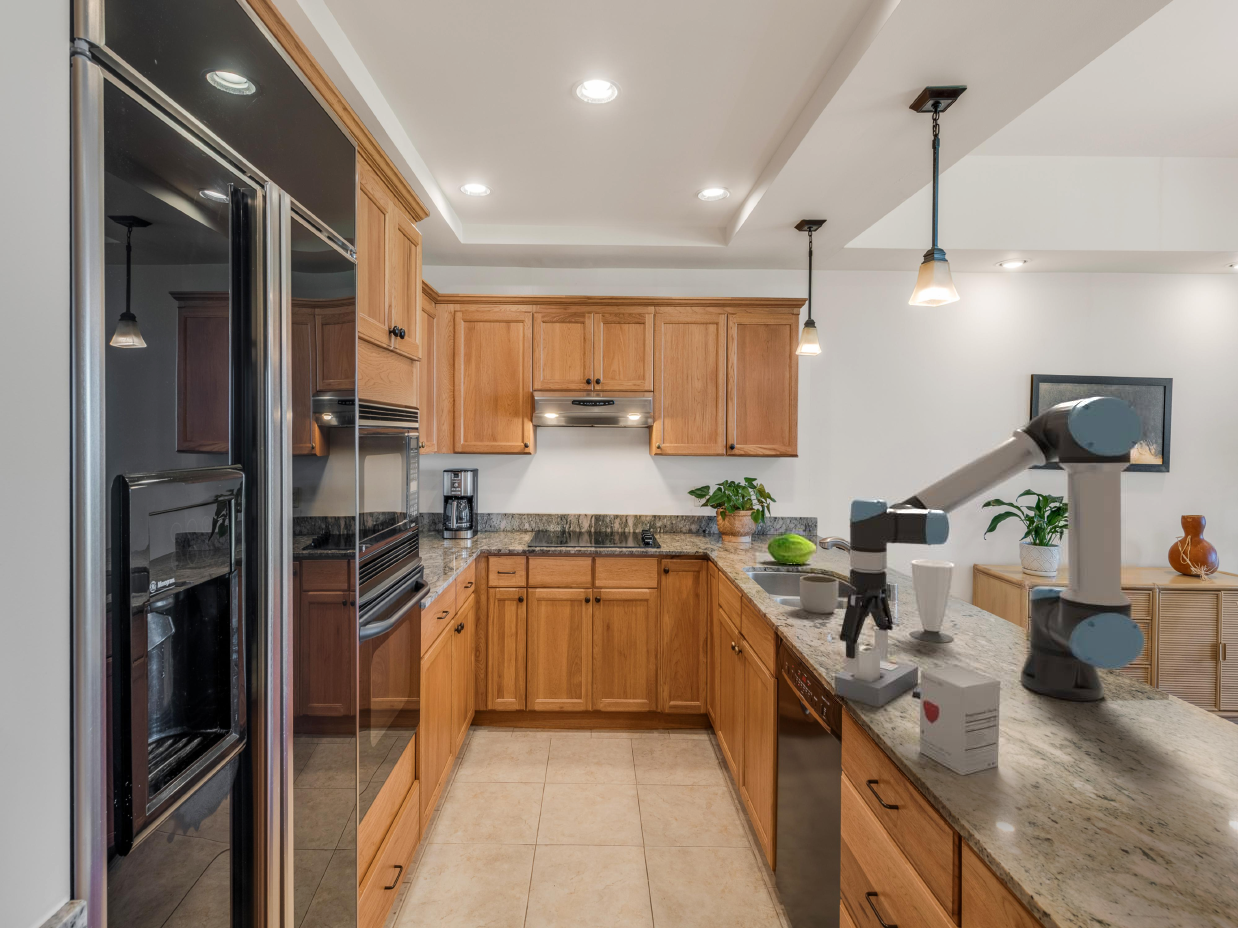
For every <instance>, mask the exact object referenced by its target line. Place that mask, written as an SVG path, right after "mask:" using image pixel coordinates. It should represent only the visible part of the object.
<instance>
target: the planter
mask: <svg viewBox="0 0 1238 928" xmlns="http://www.w3.org/2000/svg"><path fill="white" fill-rule="evenodd" d="M799 601H800V604H801V607H802V609H804V611H806V612H807V613H808V612H809V613H811V614H819V615H826V614H828V615H829V614H831V613H833V612H834V611H835V610H836V609H837V606H838V602H839V579H837V578H836V577H831V576H826V575H813V574H812V575H803V576H800V577H799Z"/></svg>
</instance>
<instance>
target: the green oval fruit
mask: <svg viewBox="0 0 1238 928" xmlns="http://www.w3.org/2000/svg"><path fill="white" fill-rule="evenodd" d="M766 549H767V551H768V554H769V555H770V556H771V557H772V558H773V559H774V561H776V562H779V563H780V564H782V563H792V564H794V563H795V564H801V565H804V564H805V563H806V562H808V561H809V560H810V558H811V557H812V556H813V555H814V553H816V552H817V546H816V545H815V544H814V543H813V542H811V541H809V540H808V539H807V538H804V537H803V536H800V535H797V534H793V533H791V534H788V533H787V534H784V535H782V536H777V537H774V538H772V539H771V540H770V541H769V543H768V545H767V547H766ZM803 563H804V564H803Z"/></svg>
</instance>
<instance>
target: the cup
mask: <svg viewBox="0 0 1238 928" xmlns="http://www.w3.org/2000/svg"><path fill="white" fill-rule="evenodd" d="M910 565H911V573H912V583H913V590H914V595H915V602H916V606H917V611H918V615H919V620H920V623H921V626H922V630H913V631H912V630H911V632H909V635H910V637H911V638H914V639H916V640H920V641H923V642H928V643H936V644H945V643H946V644H947V643H951V642H953V641H955V639H954V637H953V636H952V635H949V634H947V633H944V632H941V628H942V626H943V623H944V619H945V617H946V612H947V608H948V603H949V600H950V599H949V598H950V594H951V588H952V581H953V574H954V573H953V572H954V568H955V564H954V563H952V562H949V561H944V560H936V559H914V560H911V561H910Z"/></svg>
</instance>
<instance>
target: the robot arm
mask: <svg viewBox="0 0 1238 928" xmlns="http://www.w3.org/2000/svg"><path fill="white" fill-rule="evenodd" d="M1143 433H1144V423H1143V419H1142V416H1141V415H1140V413H1139V412H1138V410H1136V408H1135V407H1134V406H1132V404H1129V403H1128V402H1127V401H1126V400H1123V399H1120V398H1117V397H1113V396H1092V397H1085V398H1082V399H1081V398H1080V399H1077V400H1072V401H1071V400H1070V401H1065V402H1061V403H1059V404H1056V405H1054V406H1053V407H1050V408H1049V409H1047V410H1045V411H1044V412H1042V413H1041V414H1038V416H1036V417H1035V418H1033V419H1031V420H1030V421H1028V422H1027V423H1025V424H1023V425H1022V426H1020V427H1019V428H1017V429H1015V430H1014V431H1013V432H1012V437H1010V438H1009V439H1008V440H1006V441H1004V442H1002V443H1001V444H999V445H997V446H996V447H994V448H992V449H990V450H988V451H987V452H984V453H983V454H982V455H979V456H978V457H976V458H975V459H973V460H972V461H970V462H968V463H967V464H964V465H963V466H962V467H960V468H958V469H956V470H955V471H953V472H951V473H949V474H947V475H946V476H944V477H943V478H941V479H939V480H937V481H936V482H934V483H933V484H931V485H928V486H927V487H926V488H924V489H922V490H921V491H919V492H917V493H915V494H914V495H912V496H911V497H908V498H906V499H905V500H903V501H901V502H896V503H893V504H891V505H889V506H888V502H887V501H886V500H884V499H878V498H876V499H875V498H873V499H872V498H859V499H858V498H857V499H854V500H853V501H852V502H851V506H850V517H849V546H850V547H849V550H850V551H849V553H848V556H849V566H850V568H851V569H850V570H849V585H850V587H852V588H855V594H848V595H847V604H846V609H845V612H844V613H845V614H844V617H843V621H842V625H841V631H840V635H839V640H840V641H841V642H845V667H844V668H845V670H844V671H847V672H851V673H854V674H859V647H860V643H859V642H858V641H859V637H860V635H861V633H862V629H863V626H864V624H865V621H866V618H867V617H869V616H870V615H871V617H872V620H873V622H874V624H875V626H876V628H874V645H873V646H874V647H873V648H876V649H880V658H881V659H885V660H887V659H889V658H888V654H889V653H888V650H889V649H888V646H889V641H888V640H889V631H893V627H894V626H893V624H894V620H893V617H892V612H891V608H890V604H889V600H888V588H887V572H886V571H885V570H887V569H888V567H887V566H888V557H887V556H888V553H887V551H888V550H887V547H888V544H906V545H907V544H908V545H924V546H925V545H927V546H931V545H934V546H935V545H944V544H945V543H946V542H947V541H948V539H949V535H950V522H949V517H948V514H951V513H952V512H954V511H955V510H957V509H959V508H961V507H963V506H964V505H966V504H968V503H969V502H972V501H974V500H975V499H977V498H979V497H981V496H983V495H984V494H986V493H987V492H989V491H991V490H993V489H994V488H996V487H998V486H1000V485H1001V484H1004V483H1006V482H1007V481H1009V480H1010V479H1013V477H1015V476H1017V475H1019V474H1021V473H1022V472H1024V471H1026V470H1028V469H1030V468H1032V467H1033V466H1040V467H1042V466H1044V465H1047V464H1048V463H1050V462H1052V461H1053V460H1057V459H1058V465H1059V466H1060V467H1061V468H1062V469H1064V470H1065V471H1066V473H1067V550H1068V551H1067V553H1068V554H1067V557H1068V558H1067V559H1068V562H1067V563H1068V564H1067V565H1068V566H1067V567H1068V569H1067V570H1068V571H1067V573H1068V579H1067V580H1068V586H1053V585H1052V586H1051V585H1050V586H1049V585H1046V586H1045V585H1040V586H1039V585H1038V586H1035V587H1033V588H1032V589H1031V594H1030V599H1029V603H1030V629H1029V630H1030V634H1029V635H1030V638H1029V639H1030V641H1029V642H1030V649H1029V651H1028V653H1027V656H1026V658H1025V659H1026V660H1025V661H1024V664H1023V665H1022V668H1021V671H1020V682H1021V684H1022V685H1023V686H1024V687H1026V688H1027V689H1029V690H1032V691H1034V692H1036V693H1039V694H1042V695H1046V696H1049V697H1053V698H1057V699H1062V700H1067V701H1068V700H1070V701H1077V702H1078V701H1079V702H1091V701H1092V702H1094V701H1098V700H1101V699H1102V698H1103V697H1104V685H1103V682H1102V679H1101V677H1100V674H1099V671H1098V668H1099V669H1103V670H1117V669H1122V668H1124V667H1127V666H1130V664H1132V662H1134V661H1136V660H1138V658H1139V657H1140V655H1141V654H1142V652H1143V650H1144V647H1145V636H1144V633H1143V630H1142V628H1141V627H1140V626H1139V625H1138V623H1137V622H1136V621H1134V619H1133V618H1132V600H1131V599H1130V598H1129V597H1128V596H1127V595H1126V594H1124V593H1123V590H1122V499H1121V498H1122V496H1121V495H1122V490H1121V489H1122V485H1121V482H1122V481H1121V479H1122V478H1121V477H1122V475H1121V474H1122V472H1123V471H1124V470H1126V468H1128V467H1129V466H1130V465H1131V464H1132V463H1131V460H1132V459H1131V458H1132V456H1131V454H1132V453H1131V451H1132V450H1133V449H1134V448H1135V446H1136V445H1137V444H1139V443H1140V441H1141V439H1142V437H1143Z"/></svg>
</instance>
